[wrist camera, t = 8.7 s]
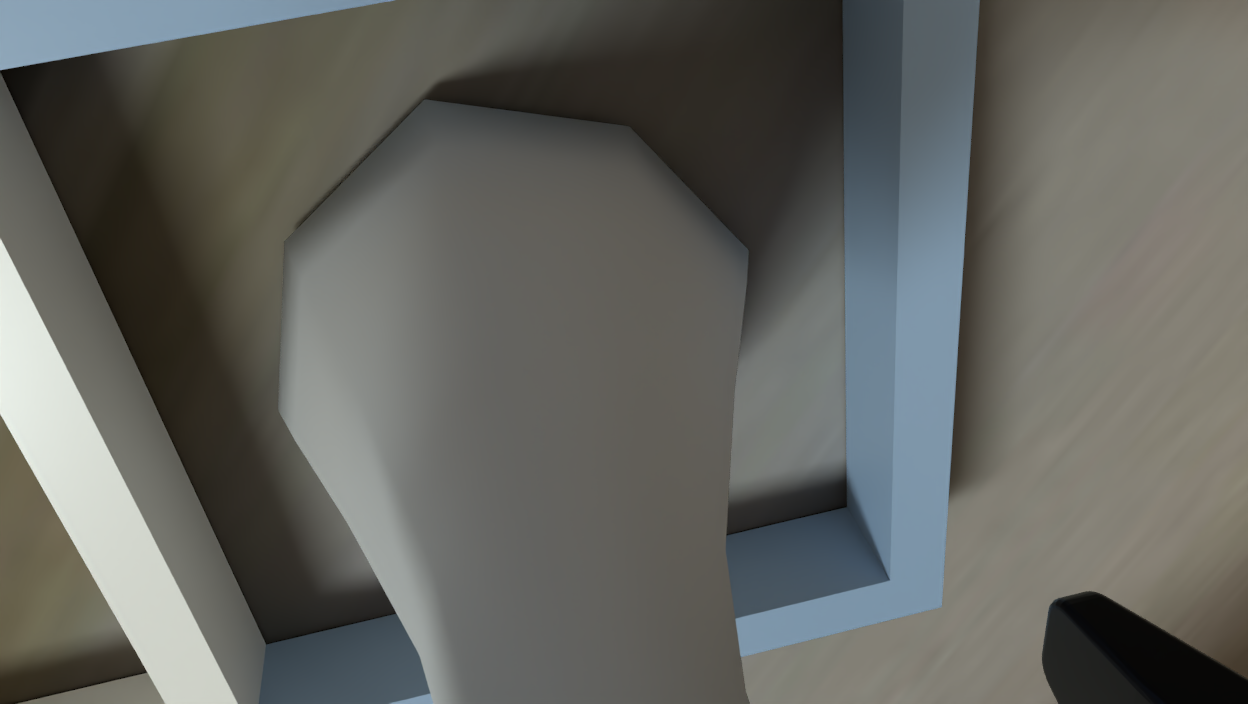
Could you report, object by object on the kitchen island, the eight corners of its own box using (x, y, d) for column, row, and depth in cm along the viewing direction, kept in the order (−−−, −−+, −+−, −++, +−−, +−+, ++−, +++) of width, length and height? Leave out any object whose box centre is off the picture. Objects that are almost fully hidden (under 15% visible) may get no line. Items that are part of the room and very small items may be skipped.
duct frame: (914, -211, 13) (992, -201, 12) (895, 533, 20) (941, 607, 19) (-1355, 163, 11) (-1675, 247, 9) (-474, 862, 18) (-562, 982, 16)
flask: (387, 0, 13) (396, 482, 5) (819, 217, 16) (1280, 746, 8) (201, 425, 16) (3, 1198, 8) (600, 545, 19) (770, 1197, 11)
